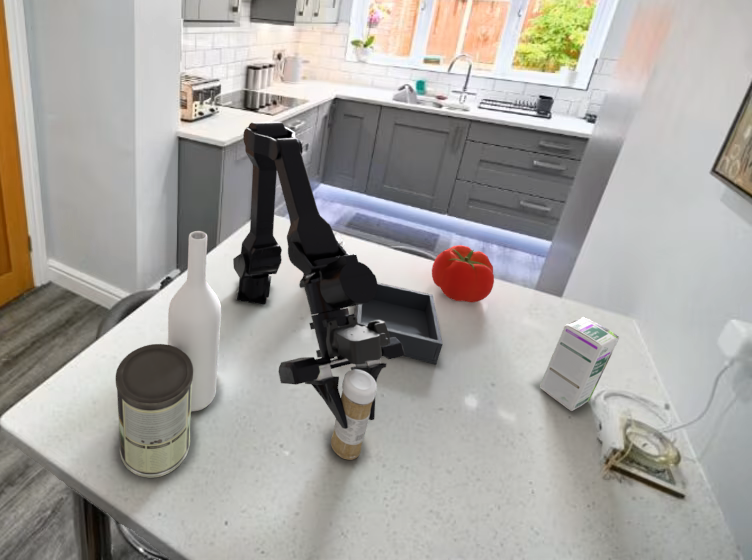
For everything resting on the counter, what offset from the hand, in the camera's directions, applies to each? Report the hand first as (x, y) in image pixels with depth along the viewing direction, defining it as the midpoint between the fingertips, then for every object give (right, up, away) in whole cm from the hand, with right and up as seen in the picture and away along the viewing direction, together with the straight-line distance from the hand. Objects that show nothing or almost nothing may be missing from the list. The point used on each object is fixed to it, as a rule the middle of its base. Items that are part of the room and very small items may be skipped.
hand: (358, 424), depth 62 cm
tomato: (+35, +7, +42) cm, 55 cm away
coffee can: (-29, -4, +2) cm, 30 cm away
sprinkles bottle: (-1, -6, +4) cm, 7 cm away
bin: (+15, +4, +29) cm, 33 cm away
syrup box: (+41, -4, +16) cm, 44 cm away
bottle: (-25, -1, +11) cm, 27 cm away
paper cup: (+2, +9, +40) cm, 41 cm away
